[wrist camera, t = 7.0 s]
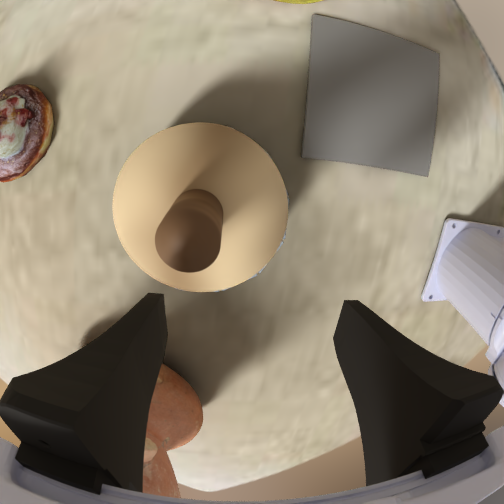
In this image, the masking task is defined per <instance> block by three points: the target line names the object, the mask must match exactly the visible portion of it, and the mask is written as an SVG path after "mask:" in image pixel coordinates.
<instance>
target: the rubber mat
mask: <svg viewBox="0 0 504 504" xmlns="http://www.w3.org/2000/svg"><path fill="white" fill-rule="evenodd" d="M438 89H439V53H436V52H434V51H432V50H430V49H427V48H425V47H423V46H420V45H418V44H415V43H413V42H410V41H408V40H405V39H402V38H400V37H397V36H394V35H391V34H388V33H385V32H382V31H379V30H376V29H373V28H369V27H366V26H363V25H359V24H355V23H352V22H348V21H344V20H340V19H335V18H331V17H326V16H321V15H316V14H313V15H312V22H311V41H310V57H309V71H308V85H307V97H306V109H305V121H304V132H303V142H302V152H301V157H302V158H311V159H320V160H328V161H336V162H344V163H351V164H358V165H365V166H371V167H377V168H383V169H389V170H394V171H400V172H405V173H410V174H415V175H420V176H425V177H428V175H429V169H430V163H431V156H432V150H433V142H434V134H435V126H436V116H437V104H438Z"/></svg>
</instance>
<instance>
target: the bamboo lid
mask: <svg viewBox="0 0 504 504" xmlns="http://www.w3.org/2000/svg"><path fill="white" fill-rule="evenodd" d="M113 218H114V223H115V228H116V231H117V234H118V237H119V239H120V241H121V243H122V245H123V247H124V249H125V250H126V252H127V253H128V255H129V256H130V257H131V259H132V260H133V261H134V262H135V263H136V264H137V265H138V266H139V267H140V268H141V269H142V270H143V271H144V272H145V273H147V274H148V275H150V276H151V277H152V278H154V279H156V280H158V281H159V282H161V283H163V284H166V285H168V286H171V287H174V288H177V289H181V290H186V291H192V292H212V291H218V290H224V289H227V288H230V287H233V286H236V285H238V284H240V283H243V282H244V281H246V280H248V279H249V278H251V277H253V276H254V275H255V274H256V273H258V272H259V271H260V270H261V269H262V268H263V267H264V266H265V265H266V264H267V263H268V262H269V261H270V260H271V258H272V257H273V256H274V254H275V253H276V251H277V249H278V248H279V246H280V244H281V241H282V239H283V237H284V233H285V230H286V226H287V220H288V199H287V192H286V188H285V185H284V182H283V179H282V177H281V174H280V172H279V170H278V168H277V167H276V165H275V164H274V162H273V160H272V159H271V158H270V157H269V155H268V154H267V153H266V152H265V151H264V150H263V149H262V148H261V147H260V146H259V145H258V144H257V143H256V142H255V141H253V140H252V139H251V138H249V137H248V136H246V135H245V134H243V133H241V132H239V131H237V130H235V129H232V128H229V127H226V126H223V125H219V124H213V123H188V124H181V125H177V126H173V127H170V128H167V129H165V130H162V131H160V132H158V133H156V134H155V135H153V136H151V137H150V138H148V139H147V140H145V141H144V142H143V143H142V144H141V145H139V146H138V147H137V148H136V149H135V151H134V152H133V153H132V154H131V155H130V156H129V158H128V159H127V161H126V162H125V164H124V165H123V167H122V169H121V171H120V173H119V176H118V178H117V181H116V184H115V189H114V194H113Z"/></svg>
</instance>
